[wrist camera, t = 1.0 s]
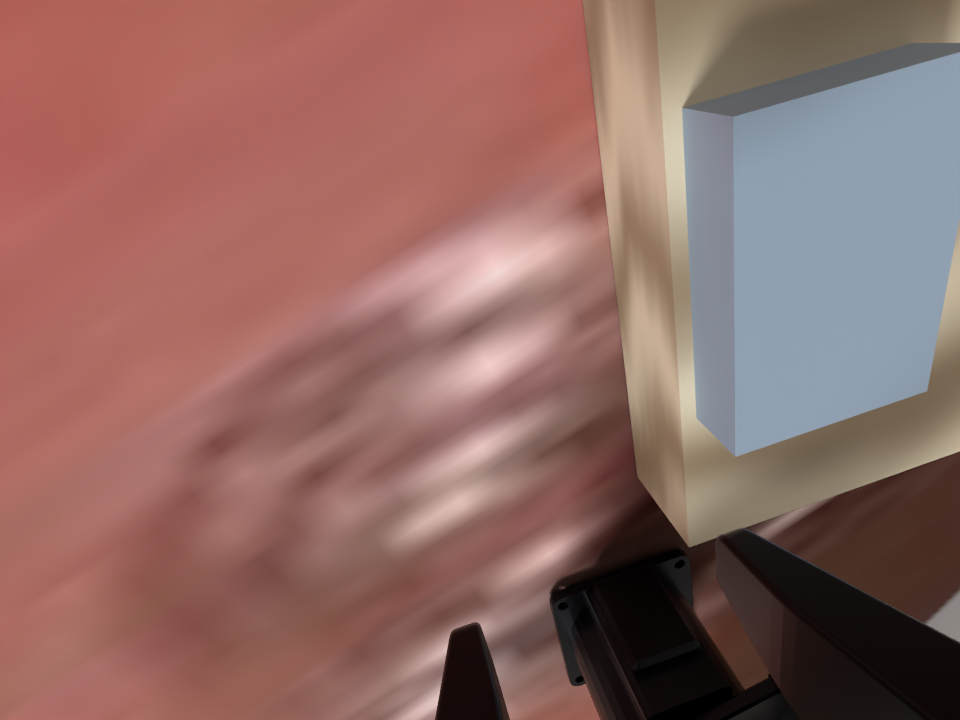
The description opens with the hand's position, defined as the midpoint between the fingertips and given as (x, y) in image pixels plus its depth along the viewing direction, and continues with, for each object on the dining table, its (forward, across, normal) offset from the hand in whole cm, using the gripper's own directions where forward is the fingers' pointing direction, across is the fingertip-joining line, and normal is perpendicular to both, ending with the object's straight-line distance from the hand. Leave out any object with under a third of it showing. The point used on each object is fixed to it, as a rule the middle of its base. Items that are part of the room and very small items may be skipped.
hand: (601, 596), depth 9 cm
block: (+8, -9, 0) cm, 12 cm away
